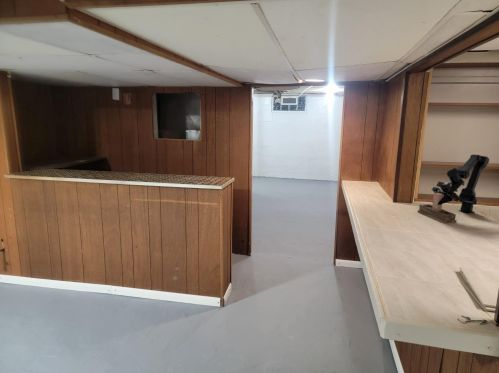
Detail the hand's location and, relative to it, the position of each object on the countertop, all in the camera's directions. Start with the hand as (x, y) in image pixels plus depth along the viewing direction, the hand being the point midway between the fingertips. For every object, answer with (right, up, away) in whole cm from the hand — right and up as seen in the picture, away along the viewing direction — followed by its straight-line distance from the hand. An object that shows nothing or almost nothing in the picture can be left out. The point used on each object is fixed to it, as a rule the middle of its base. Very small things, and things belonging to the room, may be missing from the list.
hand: (435, 203), depth 200 cm
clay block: (+1, -6, +2) cm, 7 cm away
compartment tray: (+1, -8, +2) cm, 9 cm away
